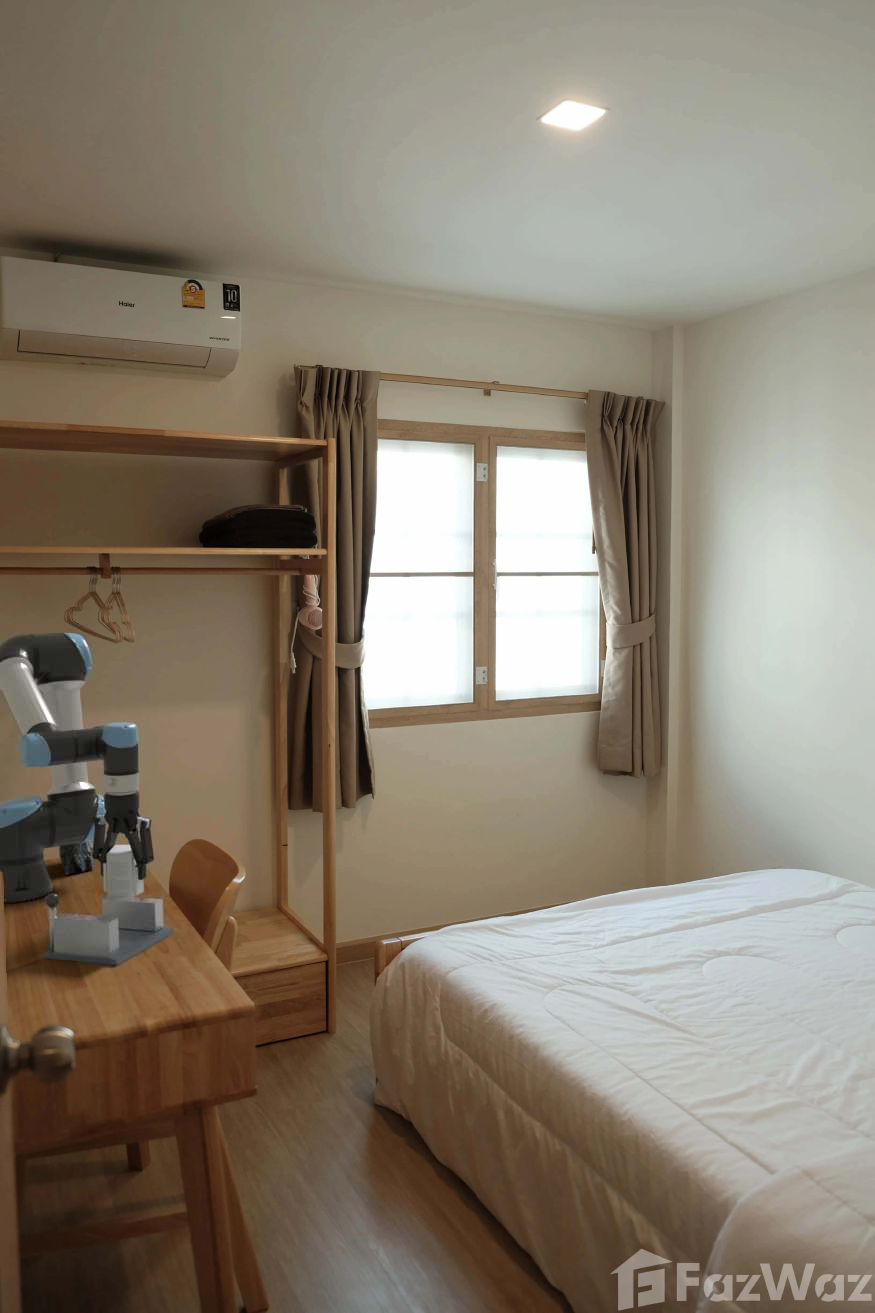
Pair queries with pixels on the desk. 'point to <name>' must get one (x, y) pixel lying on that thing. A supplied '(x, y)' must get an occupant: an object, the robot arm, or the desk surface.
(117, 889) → the small box
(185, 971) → the desk surface
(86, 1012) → the desk surface
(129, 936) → the vise
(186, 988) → the desk surface
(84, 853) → the stone block
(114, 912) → the jaw
